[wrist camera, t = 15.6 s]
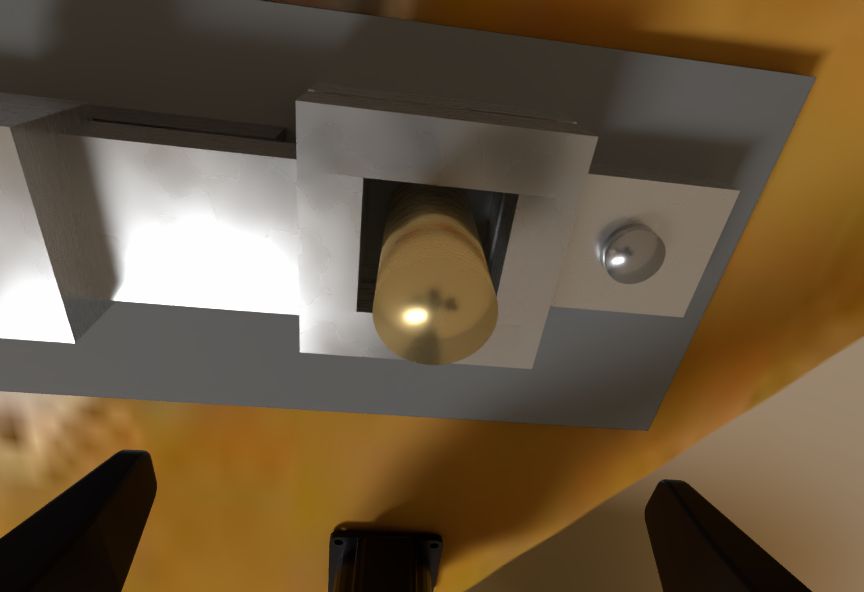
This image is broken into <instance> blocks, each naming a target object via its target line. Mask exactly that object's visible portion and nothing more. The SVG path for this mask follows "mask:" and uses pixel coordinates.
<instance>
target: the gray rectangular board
mask: <svg viewBox="0 0 864 592" xmlns="http://www.w3.org/2000/svg"><path fill="white" fill-rule="evenodd" d="M815 79H816V77H812V76H806V75H801V74H794V73H786V72H779V71H772V70H765V69H757V68H750V67H743V66H736V65H728V64H721V63H714V62H707V61H699V60H692V59H685V58H678V57H670V56H663V55H656V54H649V53H641V52H634V51H627V50H620V49H612V48H605V47H598V46H591V45H583V44H576V43H569V42H562V41H554V40H547V39H540V38H533V37H525V36H518V35H511V34H504V33H496V32H489V31H482V30H475V29H467V28H460V27H453V26H446V25H439V24H431V23H424V22H417V21H410V20H402V19H395V18H388V17H381V16H373V15H366V14H359V13H352V12H344V11H337V10H330V9H323V8H315V7H308V6H301V5H294V4H286V3H279V2H272V1H265V0H0V92H2V93H11V94H20V95H29V96H37V97H46V98H55V99H63V100H72V101H81V102H89V103H90V105H98V106H107V107H116V108H124V109H133V110H142V111H151V112H159V113H168V114H177V115H185V116H194V117H203V118H212V119H220V120H229V121H238V122H247V123H255V124H264V125H273V126H281V127H286V143H295V144H296V100H297V99H298V98H299V97H300V96H302V95H303V94H304V93H305V92H306V91H308V89H309V88H310V87H311V86H312V85H314V84H315V83H316V82H324V83H332V84H340V85H348V86H356V87H364V88H372V89H380V90H388V91H396V92H404V93H412V94H421V95H429V96H437V97H445V98H453V99H461V100H469V101H477V102H485V103H493V104H501V105H509V106H517V107H525V108H534V109H542V110H550V111H558V112H563V113H565V114H566V115H568V116H569V117H570V118H572V119H573V120H575V121H576V122H577V124H581V125H582V126H584V127H585V128H587V129H588V130H589V131H591V132H592V133H594V134H595V135H596V136H598V140H597V144H596V147H595V151H594V154H593V158H592V161H591V162H596V163H604V164H613V165H622V166H631V167H639V168H648V169H657V170H666V171H674V172H683V173H692V174H701V175H709V176H715V177H717V178H719V179H721V180H722V181H724V182H726V183H728V184H729V185H731V186H733V187H735V188H736V189H738V190H740V193H739V195H738V197H737V200H736V202H735V204H734V206H733V208H732V211H731V213H730V215H729V217H728V219H727V222H726V224H725V226H724V228H723V230H722V233H721V235H720V237H719V239H718V241H717V244H716V246H715V248H714V250H713V253H712V255H711V257H710V259H709V261H708V264H707V266H706V268H705V270H704V272H703V275H702V277H701V279H700V281H699V283H698V286H697V288H696V290H695V292H694V294H693V297H692V299H691V301H690V303H689V306H688V308H687V310H686V312H685V314H684V317H672V316H660V315H648V314H636V313H625V312H613V311H601V310H589V309H577V308H566V307H554V306H550V308H549V312H548V315H547V319H546V322H545V326H544V329H543V333H542V336H541V340H540V343H539V347H538V350H537V354H536V357H535V361H534V364H533V368H532V369H523V368H509V367H495V366H481V365H467V364H453V363H449V364H444V365H425V364H419V363H415V362H412V361H409V360H398V359H384V358H370V357H356V356H342V355H328V354H315V353H301V352H300V325H299V315H292V314H280V313H267V312H255V311H242V310H229V309H217V308H204V307H191V306H179V305H166V304H153V303H141V302H128V301H116V302H115V303H114V304H113V305H112V306H111V307H110V308H109V309H108V310H107V311H106V312H105V313H104V314H103V315H102V316H101V317H100V318H99V319H98V320H97V321H96V322H95V323H94V324H93V325H92V326H91V328H90V329H89V330H88V331H87V332H86V333H85V334H84V335H83V336H82V337H81V338H80V339H79V340H78V341H77V342H76V343H65V342H50V341H36V340H22V339H8V338H0V391H7V392H23V393H40V394H56V395H72V396H89V397H105V398H121V399H138V400H154V401H170V402H187V403H203V404H219V405H236V406H252V407H268V408H285V409H301V410H317V411H334V412H350V413H366V414H383V415H399V416H415V417H432V418H448V419H464V420H481V421H497V422H513V423H530V424H546V425H562V426H579V427H595V428H611V429H628V430H644V431H648V430H649V428H650V426H651V424H652V421H653V419H654V417H655V415H656V413H657V411H658V409H659V407H660V405H661V403H662V401H663V398H664V396H665V394H666V392H667V390H668V388H669V386H670V384H671V382H672V380H673V377H674V375H675V373H676V371H677V369H678V367H679V365H680V363H681V361H682V359H683V356H684V354H685V352H686V350H687V348H688V346H689V344H690V342H691V340H692V338H693V335H694V333H695V331H696V329H697V327H698V325H699V323H700V321H701V319H702V317H703V314H704V312H705V310H706V308H707V306H708V304H709V302H710V300H711V298H712V296H713V293H714V291H715V289H716V287H717V285H718V283H719V281H720V279H721V277H722V275H723V272H724V270H725V268H726V266H727V264H728V262H729V260H730V258H731V256H732V254H733V251H734V249H735V247H736V245H737V243H738V241H739V239H740V237H741V235H742V233H743V230H744V228H745V226H746V224H747V222H748V220H749V218H750V216H751V214H752V212H753V209H754V207H755V205H756V203H757V201H758V199H759V197H760V195H761V193H762V191H763V188H764V186H765V184H766V182H767V180H768V178H769V176H770V174H771V172H772V170H773V167H774V165H775V163H776V161H777V159H778V157H779V155H780V153H781V151H782V149H783V146H784V144H785V142H786V140H787V138H788V136H789V134H790V132H791V130H792V128H793V125H794V123H795V121H796V119H797V117H798V115H799V113H800V111H801V109H802V107H803V104H804V102H805V100H806V98H807V96H808V94H809V92H810V90H811V88H812V86H813V83H814V81H815ZM400 183H401V182H400V181H391V180H381V179H372V178H369V190H368V207H367V224H366V242H365V259H364V262H366V263H377V264H379V262H380V255H381V249H382V242H383V235H384V229H385V222H386V215H387V208H388V203H389V199H390V197H391V195H392V193H393V191H394V190H395V188H396V187H397V186H398V185H399V184H400ZM462 189H463V190H464V192H465V193H466V195H467V197H468V201H469V204H470V207H471V211H472V214H473V218H474V221H475V225H476V228H477V232H478V235H479V238H480V242H481V245H482V247H483V242H484V237H485V232H486V226H487V221H488V216H489V211H490V205H491V200H492V195H493V191H485V190H475V189H466V188H462Z"/></svg>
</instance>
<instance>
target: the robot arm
mask: <svg viewBox="0 0 864 592" xmlns="http://www.w3.org/2000/svg"><path fill="white" fill-rule="evenodd" d="M156 491H157V481H156V477H155V472H154V468H153V464H152V459H151V456H150V454H149V453H148V452H147V451H143V450H122V451H119V452H117V453H116V454H114V455H113V456H112V457H110V458H109V459H108V460H106V461H105V462H104V463H102V464H101V465H100V466H98V467H97V468H95V469H94V470H93V471H91V472H90V473H89V474H87V475H86V476H85V477H83V478H82V479H81V480H79V481H78V482H76V483H75V484H74V485H72V486H71V487H70V488H68V489H67V490H66V491H64V492H63V493H62V494H60V495H59V496H58V497H56V498H55V499H53V500H52V501H51V502H49V503H48V504H47V505H45V506H44V507H43V508H41V509H40V510H39V511H37V512H36V513H34V514H33V515H32V516H30V517H29V518H28V519H26V520H25V521H24V522H22V523H21V524H20V525H18V526H17V527H16V528H14V529H13V530H11V531H10V532H9V533H7V534H6V535H5V536H3V537H2V538H1V539H0V592H121V591H122V588H123V585H124V583H125V580H126V578H127V575H128V572H129V569H130V566H131V564H132V561H133V558H134V555H135V552H136V550H137V547H138V544H139V541H140V538H141V536H142V533H143V530H144V527H145V524H146V522H147V519H148V516H149V513H150V510H151V507H152V505H153V502H154V499H155V496H156ZM645 522H646V526H647V530H648V534H649V537H650V541H651V545H652V549H653V553H654V557H655V561H656V565H657V569H658V573H659V577H660V581H661V585H662V589H663V592H812V591H811V590H810V589H809V588H807V587H806V586H805V585H804V584H803V583H802V582H801V581H799V580H798V579H797V578H796V577H795V576H794V575H792V574H791V573H790V572H789V571H788V570H787V569H785V568H784V567H783V566H782V565H781V564H779V562H777V561H776V560H775V559H774V558H773V557H772V556H770V555H769V554H768V553H767V552H766V551H765V550H764V549H762V548H761V547H760V546H759V545H758V544H757V543H755V542H754V541H753V540H752V539H751V538H750V537H749V536H748V535H746V534H745V533H744V532H743V531H742V530H741V529H739V528H738V527H737V526H736V525H735V524H734V523H733V522H731V521H730V520H729V519H728V518H727V517H726V516H725V515H723V514H722V513H721V512H720V511H719V510H718V509H717V508H715V507H714V506H713V505H712V504H711V503H709V502H708V501H707V500H706V499H705V498H704V497H703V496H701V495H700V494H699V493H698V492H697V491H696V490H695V489H694V488H692V487H691V486H690V485H689V484H687V483H686V482H684V481H681V480H667V479H665V480H662V481H660V482H659V483H658V485H657V486H656V488H655V490H654V492H653V494H652V496H651V497H650V499H649V501H648V503H647V505H646V508H645ZM442 548H443V539H442V537H441V536H440V535H437V534H416V533H390V532H364V531H334V532H333V533H331V536H330V545H329V583H328V592H433V589H434V585H435V580H436V575H437V571H438V566H439V562H440V557H441V553H442Z"/></svg>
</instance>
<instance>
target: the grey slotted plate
mask: <svg viewBox="0 0 864 592" xmlns="http://www.w3.org/2000/svg"><path fill="white" fill-rule="evenodd" d="M308 91H311V92H319V93H328V94H336V95H344V96H352V97H360V98H369V99H377V100H385V101H393V102H401V103H410V104H418V105H426V106H434V107H442V108H451V109H459V110H467V111H475V112H483V113H492V114H500V115H508V116H516V117H524V118H533V119H541V120H549V121H557V122H565V123H574V124H577V122H576V121H575V120H573V119H572V118H570V117H569V116H568V115H566V114H565V113H563V112H558V111H550V110H542V109H534V108H525V107H517V106H509V105H501V104H493V103H485V102H477V101H469V100H461V99H453V98H445V97H437V96H429V95H421V94H412V93H404V92H396V91H388V90H380V89H372V88H364V87H356V86H348V85H340V84H332V83H324V82H316V83H315V84H314V85H312V86H311V87H310V88H309V89H308ZM90 107H91V112H92V117H93V121H98V122H107V123H116V124H125V125H134V126H143V127H152V128H161V129H170V130H179V131H188V132H197V133H206V134H215V135H224V136H233V137H242V138H250V139H259V140H268V141H277V142H286V127H281V126H273V125H264V124H255V123H247V122H238V121H229V120H220V119H212V118H203V117H194V116H185V115H177V114H168V113H159V112H151V111H142V110H133V109H124V108H116V107H107V106H98V105H90ZM368 190H369V178H367V181H366V199H365V217H364V235H363V253H362V271H361V287H366V288H376V282H377V275H378V269H379V264H377V263H366V262H364V259H365V242H366V224H367V207H368ZM739 193H740V190H738V189H736V188H735V187H733V186H731V185H729V184H728V183H726V182H724V181H722V180H721V179H719V178H717V177H715V176H709V175H701V174H692V173H683V172H674V171H666V170H657V169H648V168H639V167H631V166H622V165H613V164H604V163H596V162H591V165H590V168H589V172H588V175H587V179H586V182H585V186H584V189H583V193H582V196H581V200H580V203H579V207H578V210H577V214H576V217H575V221H574V224H573V228H572V231H571V235H570V238H569V242H568V245H567V249H566V252H565V256H564V259H563V263H562V266H561V270H560V273H559V277H558V280H557V284H556V287H555V291H554V294H553V298H552V301H551V305H550V306H554V307H566V308H577V309H589V310H601V311H613V312H625V313H636V314H648V315H660V316H672V317H684V314H685V312H686V310H687V308H688V306H689V303H690V301H691V299H692V297H693V294H694V292H695V290H696V288H697V286H698V283H699V281H700V279H701V277H702V275H703V272H704V270H705V268H706V266H707V264H708V261H709V259H710V257H711V255H712V253H713V250H714V248H715V246H716V244H717V241H718V239H719V237H720V235H721V233H722V230H723V228H724V226H725V224H726V222H727V219H728V217H729V215H730V213H731V211H732V208H733V206H734V204H735V202H736V200H737V197H738V195H739ZM505 196H506V193H503V192H494V191H493V195H492V200H491V205H490V211H489V216H488V221H487V226H486V232H485V237H484V242H483V247H482V249H483V252H484V256H485V259H486V263H487V266H488V270H489V273H490V269H491V264H492V259H493V254H494V249H495V245H496V240H497V235H498V230H499V225H500V220H501V215H502V210H503V205H504V201H505Z"/></svg>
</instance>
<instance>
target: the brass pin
mask: <svg viewBox="0 0 864 592" xmlns="http://www.w3.org/2000/svg"><path fill="white" fill-rule="evenodd" d="M497 319H498V302H497V297H496V294H495V290H494V287H493V283H492V280H491V277H490V273H489V270H488V266H487V263H486V259H485V256H484V252H483V249H482V245H481V242H480V238H479V235H478V232H477V228H476V225H475V221H474V218H473V214H472V211H471V207H470V204H469V201H468V197H467V195H466V193H465V192H464V190H463V189H462V188H456V187H447V186H438V185H428V184H419V183H409V182H401V183H400V184H399V185H398V186H397V187H396V188H395V190H394V191H393V193H392V195H391V197H390V199H389V203H388V208H387V215H386V222H385V229H384V235H383V242H382V249H381V255H380V262H379V269H378V275H377V282H376V289H375V296H374V302H373V322H374V326H375V329H376V331H377V333H378V335H379V337H380V339H381V340H382V341H383V343H384V344H385V345H386V346H387V347H388V348H389V349H390V350H391V351H393V352H394V353H395V354H397V355H398V356H400V357H402V358H404V359H406V360H409V361H412V362H415V363H419V364H425V365H444V364H449V363H453V362H457V361H460V360H462V359H464V358H467V357H468V356H470V355H472V354H473V353H475V352H476V351H478V350H479V349H480V348H481V347H482V346H483V345H484V344H485V343H486V342H487V341H488V339H489V338H490V336H491V335H492V333H493V331H494V329H495V326H496V323H497Z"/></svg>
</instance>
